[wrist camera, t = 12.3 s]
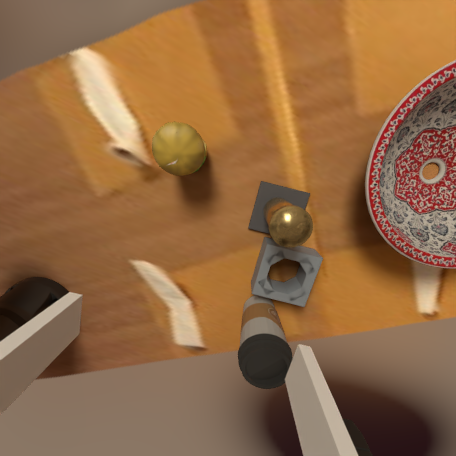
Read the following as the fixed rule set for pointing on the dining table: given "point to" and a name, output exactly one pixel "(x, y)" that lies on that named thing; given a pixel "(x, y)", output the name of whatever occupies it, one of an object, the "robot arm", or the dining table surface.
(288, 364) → the coffee cup
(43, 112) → the dining table surface
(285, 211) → the gold round-topped cylinder
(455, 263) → the ceramic bowl
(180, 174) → the hamburger
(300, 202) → the rubber mat
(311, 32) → the dining table surface
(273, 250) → the housing
